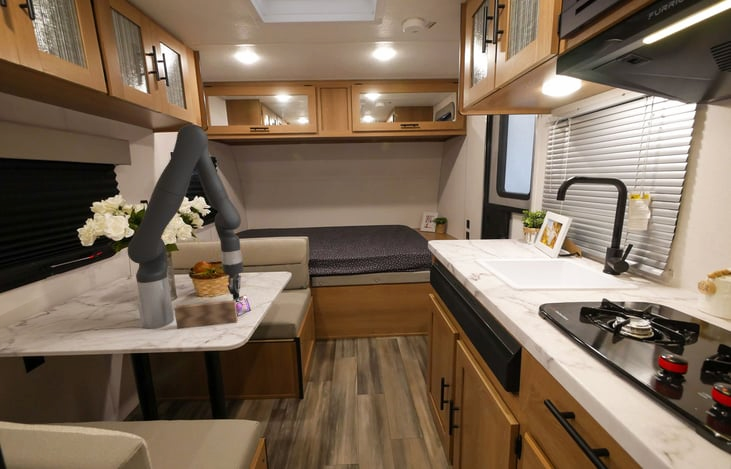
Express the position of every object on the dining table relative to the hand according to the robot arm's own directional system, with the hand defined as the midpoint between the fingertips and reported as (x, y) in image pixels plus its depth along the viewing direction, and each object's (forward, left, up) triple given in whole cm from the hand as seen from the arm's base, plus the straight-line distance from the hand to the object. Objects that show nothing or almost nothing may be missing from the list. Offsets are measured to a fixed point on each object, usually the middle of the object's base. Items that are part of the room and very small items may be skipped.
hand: (236, 301), depth 128 cm
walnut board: (-8, -13, -2) cm, 15 cm away
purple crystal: (+1, -6, -3) cm, 7 cm away
